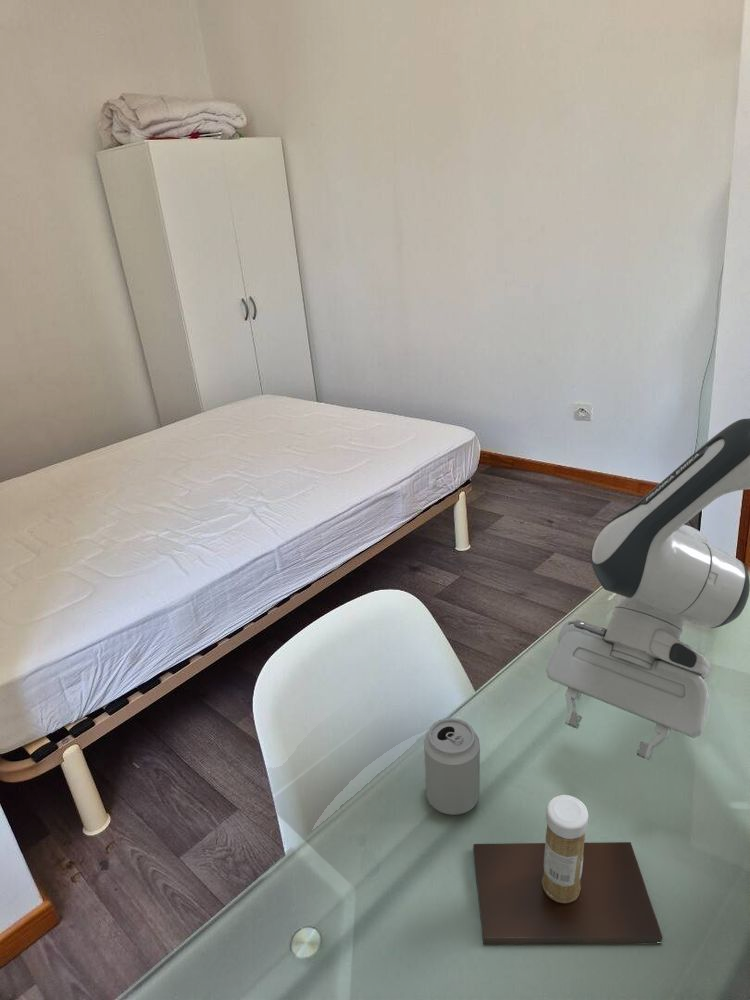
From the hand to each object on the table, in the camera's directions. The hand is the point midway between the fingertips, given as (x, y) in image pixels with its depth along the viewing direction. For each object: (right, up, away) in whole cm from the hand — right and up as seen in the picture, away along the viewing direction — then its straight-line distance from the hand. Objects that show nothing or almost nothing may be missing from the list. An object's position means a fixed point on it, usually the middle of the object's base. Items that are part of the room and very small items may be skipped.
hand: (606, 741), depth 88 cm
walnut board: (-7, -17, -5) cm, 19 cm away
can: (-19, -11, +8) cm, 23 cm away
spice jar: (-7, -16, -6) cm, 18 cm away
